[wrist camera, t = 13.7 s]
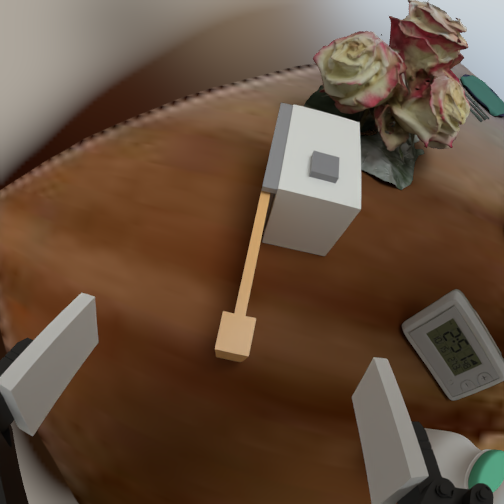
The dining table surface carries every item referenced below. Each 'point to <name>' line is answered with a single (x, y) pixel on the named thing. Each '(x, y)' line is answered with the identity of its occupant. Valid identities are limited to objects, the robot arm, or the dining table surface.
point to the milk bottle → (466, 460)
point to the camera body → (312, 179)
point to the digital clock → (455, 346)
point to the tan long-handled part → (242, 299)
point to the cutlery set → (483, 97)
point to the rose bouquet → (397, 89)
